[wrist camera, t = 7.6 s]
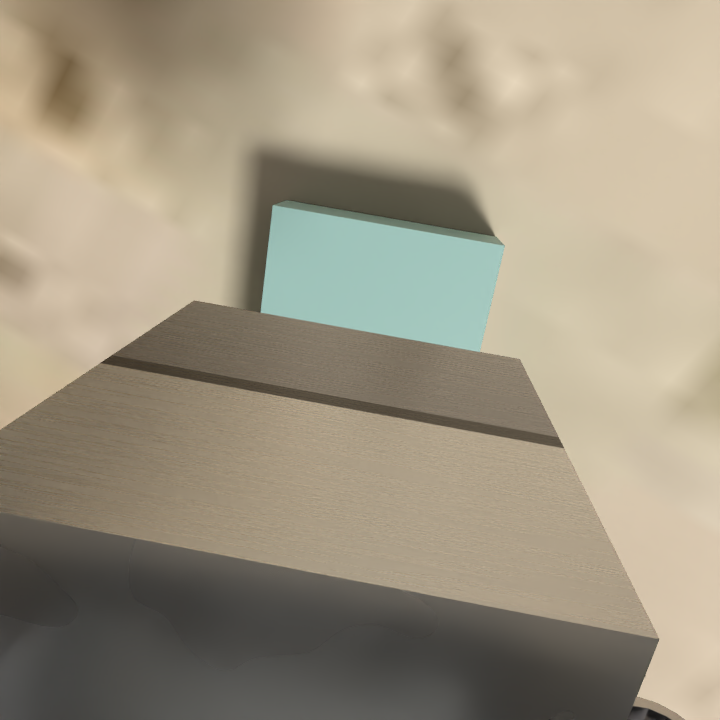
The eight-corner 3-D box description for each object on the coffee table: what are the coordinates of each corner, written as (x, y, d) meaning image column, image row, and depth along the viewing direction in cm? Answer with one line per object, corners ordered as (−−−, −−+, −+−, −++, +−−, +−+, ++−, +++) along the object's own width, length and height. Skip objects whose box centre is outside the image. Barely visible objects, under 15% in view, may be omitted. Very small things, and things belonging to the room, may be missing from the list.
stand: (263, 393, 26) (248, 417, 24) (286, 200, 24) (273, 205, 21) (451, 428, 26) (455, 455, 24) (495, 236, 24) (504, 245, 21)
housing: (193, 300, 11) (-96, 493, 5) (519, 359, 10) (659, 639, 4) (168, 632, 13) (-48, 1050, 7) (435, 684, 13) (452, 1161, 7)
